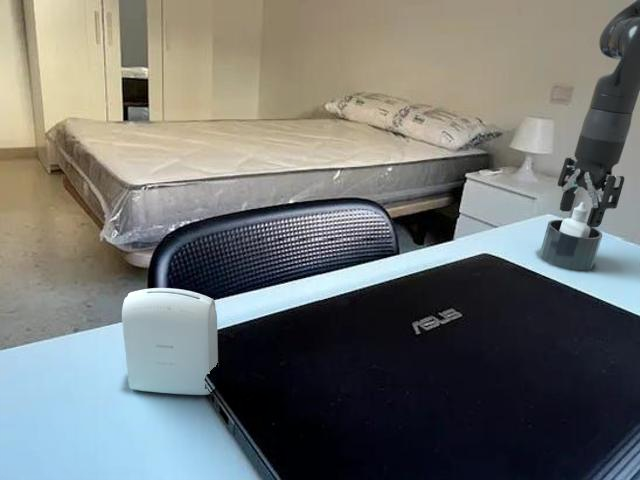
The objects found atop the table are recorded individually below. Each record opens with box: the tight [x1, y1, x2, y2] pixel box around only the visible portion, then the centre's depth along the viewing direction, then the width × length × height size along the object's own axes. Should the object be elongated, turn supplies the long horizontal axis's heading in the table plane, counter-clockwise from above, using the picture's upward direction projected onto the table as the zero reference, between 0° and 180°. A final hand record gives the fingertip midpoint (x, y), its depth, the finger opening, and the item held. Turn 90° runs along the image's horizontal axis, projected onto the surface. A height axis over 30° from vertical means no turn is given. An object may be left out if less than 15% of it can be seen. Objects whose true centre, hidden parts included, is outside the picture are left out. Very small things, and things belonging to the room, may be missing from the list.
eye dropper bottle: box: [559, 201, 590, 238], centre depth 98 cm, size 4×6×12 cm
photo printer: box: [121, 287, 219, 396], centre depth 56 cm, size 10×4×12 cm, turn 88°
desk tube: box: [539, 219, 603, 272], centre depth 99 cm, size 10×10×7 cm
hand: (578, 218), depth 97 cm, fingers open, 8 cm apart
